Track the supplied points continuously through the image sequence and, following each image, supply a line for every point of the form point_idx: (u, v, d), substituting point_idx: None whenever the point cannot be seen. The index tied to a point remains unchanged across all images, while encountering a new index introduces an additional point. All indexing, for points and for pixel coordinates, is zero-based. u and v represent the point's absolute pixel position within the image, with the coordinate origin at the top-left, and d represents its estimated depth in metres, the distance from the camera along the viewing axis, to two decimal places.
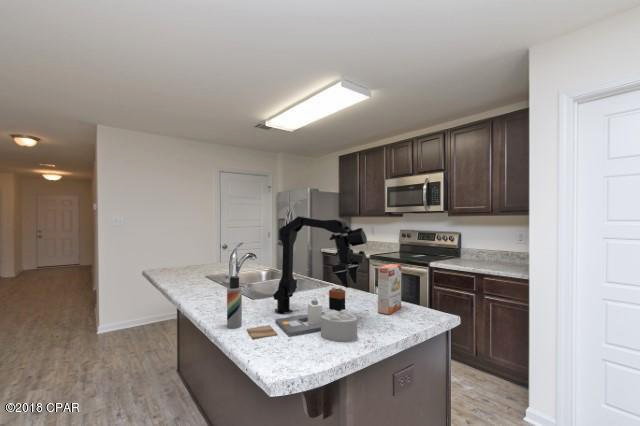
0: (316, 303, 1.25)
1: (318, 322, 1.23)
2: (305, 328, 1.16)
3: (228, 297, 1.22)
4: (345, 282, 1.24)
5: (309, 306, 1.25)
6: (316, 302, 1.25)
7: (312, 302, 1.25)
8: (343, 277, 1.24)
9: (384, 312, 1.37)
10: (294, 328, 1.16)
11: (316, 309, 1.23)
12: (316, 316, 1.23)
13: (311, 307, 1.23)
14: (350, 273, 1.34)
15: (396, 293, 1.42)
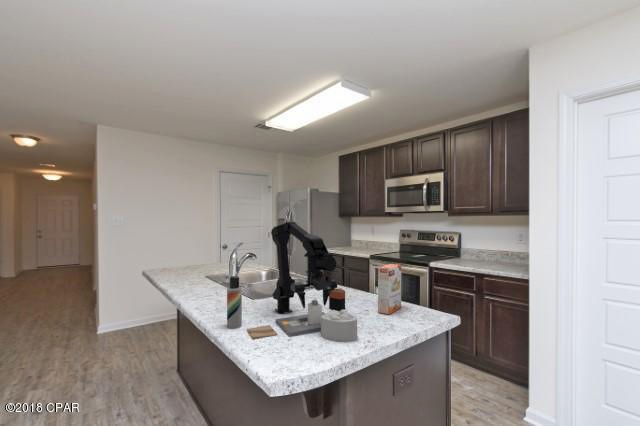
0: (316, 303, 1.25)
1: (318, 322, 1.23)
2: (305, 328, 1.16)
3: (228, 297, 1.22)
4: (302, 302, 1.23)
5: (309, 306, 1.25)
6: (316, 302, 1.25)
7: (312, 302, 1.25)
8: (301, 297, 1.23)
9: (384, 312, 1.37)
10: (294, 328, 1.16)
11: (316, 309, 1.23)
12: (316, 316, 1.23)
13: (311, 307, 1.23)
14: (323, 293, 1.29)
15: (396, 293, 1.42)
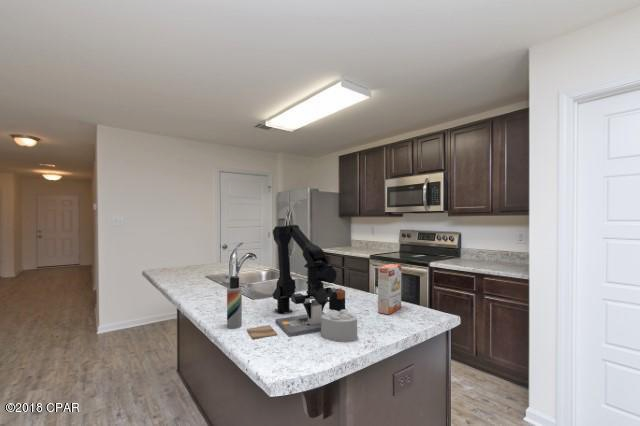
0: (316, 303, 1.25)
1: (318, 322, 1.23)
2: (305, 328, 1.16)
3: (228, 297, 1.22)
4: (308, 313, 1.24)
5: None
6: (316, 302, 1.25)
7: (312, 302, 1.25)
8: (307, 307, 1.24)
9: (384, 312, 1.37)
10: (294, 328, 1.16)
11: (316, 309, 1.23)
12: (316, 316, 1.23)
13: (311, 307, 1.23)
14: None
15: (396, 293, 1.42)
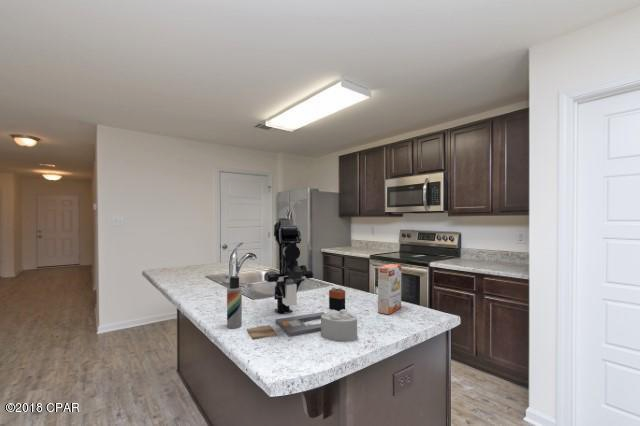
0: (291, 282, 1.20)
1: (293, 301, 1.19)
2: (305, 328, 1.16)
3: (228, 297, 1.22)
4: (282, 292, 1.19)
5: None
6: (291, 281, 1.20)
7: (287, 281, 1.21)
8: (281, 287, 1.20)
9: (384, 312, 1.37)
10: (294, 328, 1.16)
11: (291, 287, 1.19)
12: (291, 295, 1.19)
13: (285, 286, 1.19)
14: None
15: (396, 293, 1.42)
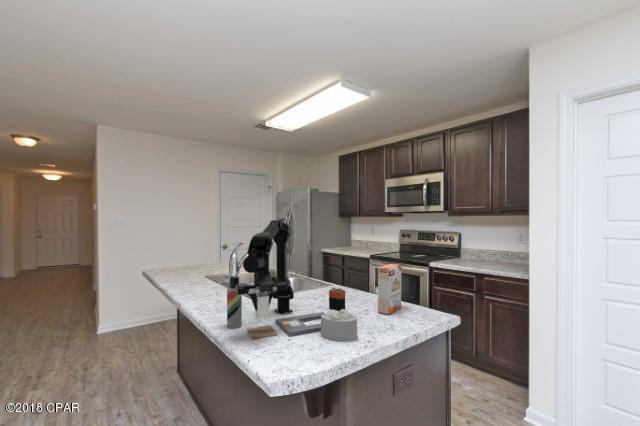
0: (263, 294, 1.16)
1: (264, 314, 1.14)
2: (305, 328, 1.16)
3: (228, 297, 1.22)
4: (253, 304, 1.15)
5: (256, 297, 1.16)
6: (263, 293, 1.16)
7: (259, 293, 1.16)
8: None
9: (384, 312, 1.37)
10: (294, 328, 1.16)
11: (262, 300, 1.14)
12: (262, 308, 1.14)
13: (257, 298, 1.14)
14: None
15: (396, 293, 1.42)
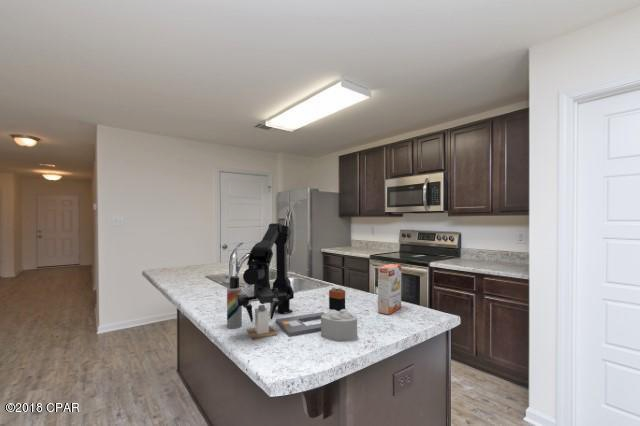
0: (263, 309, 1.15)
1: (264, 329, 1.14)
2: (305, 328, 1.16)
3: (228, 297, 1.22)
4: (249, 316, 1.14)
5: (255, 312, 1.16)
6: (263, 307, 1.15)
7: (259, 307, 1.16)
8: None
9: (384, 312, 1.37)
10: (294, 328, 1.16)
11: (262, 315, 1.14)
12: (262, 322, 1.14)
13: (257, 313, 1.14)
14: (270, 306, 1.19)
15: (396, 293, 1.42)
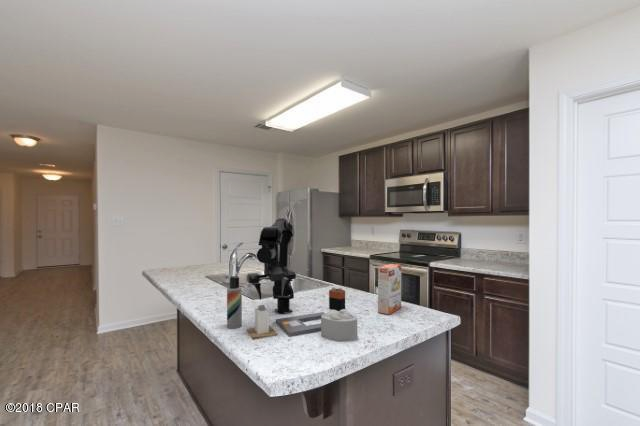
0: (263, 309, 1.15)
1: (264, 329, 1.14)
2: (305, 328, 1.16)
3: (228, 297, 1.22)
4: (258, 294, 1.20)
5: (255, 312, 1.16)
6: (263, 307, 1.15)
7: (259, 307, 1.16)
8: (257, 288, 1.20)
9: (384, 312, 1.37)
10: (294, 328, 1.16)
11: (262, 315, 1.14)
12: (262, 322, 1.14)
13: (257, 313, 1.14)
14: (282, 284, 1.26)
15: (396, 293, 1.42)
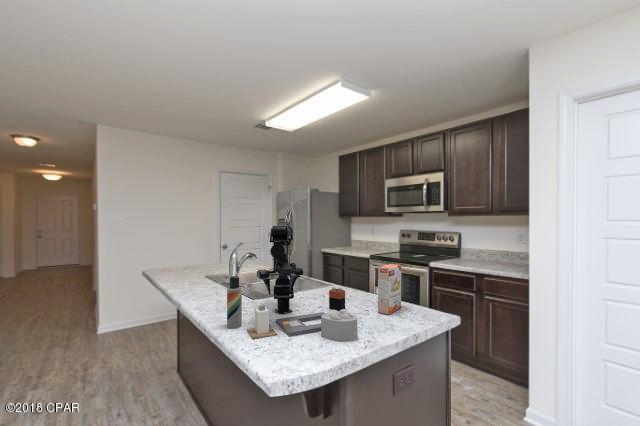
0: (263, 309, 1.15)
1: (264, 329, 1.14)
2: (305, 328, 1.16)
3: (228, 297, 1.22)
4: (267, 289, 1.25)
5: (255, 312, 1.16)
6: (263, 307, 1.15)
7: (259, 307, 1.16)
8: None
9: (384, 312, 1.37)
10: (294, 328, 1.16)
11: (262, 315, 1.14)
12: (262, 322, 1.14)
13: (257, 313, 1.14)
14: (290, 281, 1.31)
15: (396, 293, 1.42)
